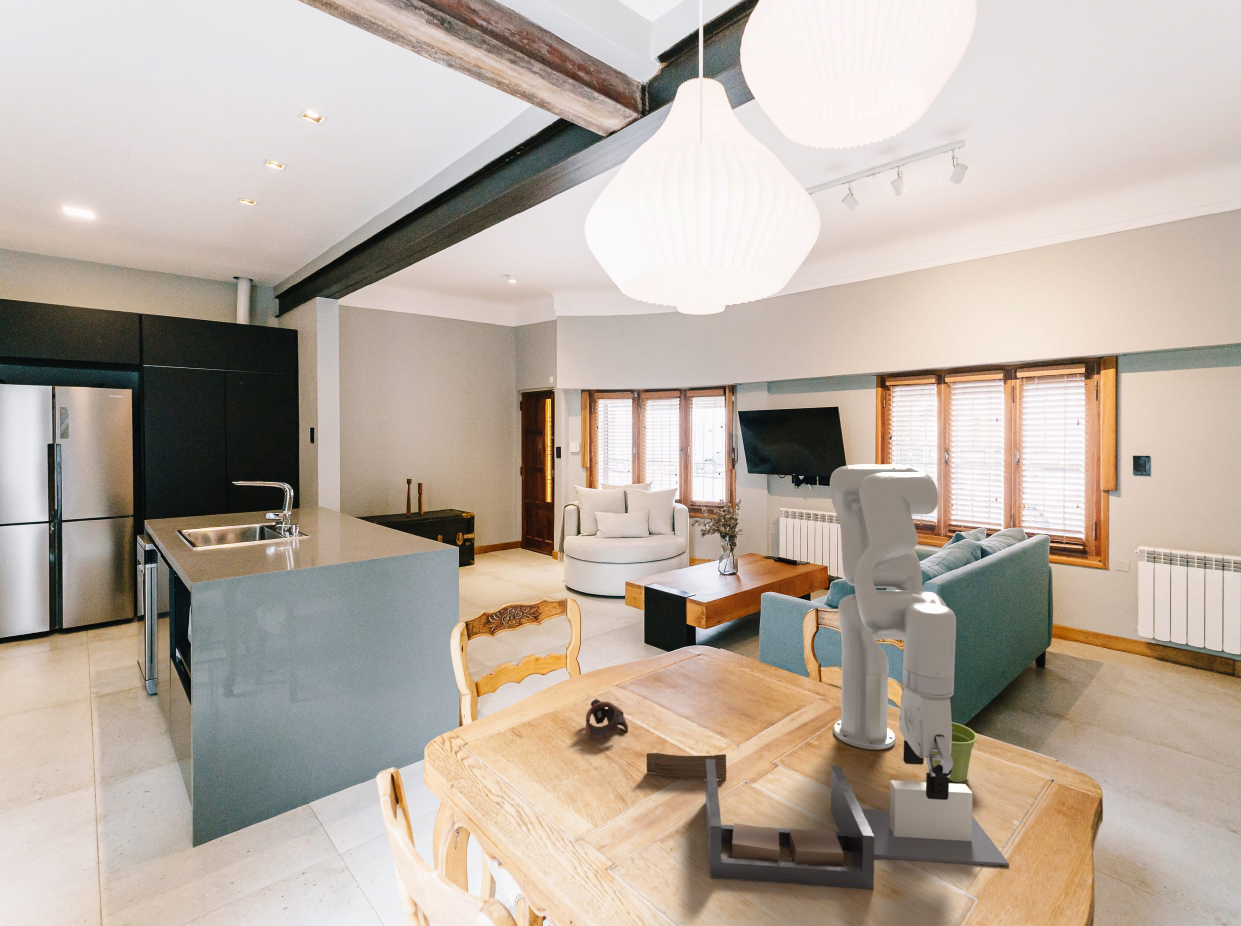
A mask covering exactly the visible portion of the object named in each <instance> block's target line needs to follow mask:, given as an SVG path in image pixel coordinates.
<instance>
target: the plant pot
mask: <svg viewBox="0 0 1241 926" xmlns="http://www.w3.org/2000/svg"><path fill="white" fill-rule="evenodd" d="M951 722H952V745H951V757H952V760H953V766H952V768H951V771H952V772H951V774H950V778H949V781H952V782H953V783H962V782H965V781H966V780H967V779H968V773H969V767H970V762H971V756H972V752H973V751H972V749H973V748H974V745H975V742H977V739H978V735H977V733H976V732H975V731H974V730H972V729H971V728H970V727H967V726H965V725H963V724H960V723H956V722H953V721H951ZM931 754H939V753H938V751H932V752H931ZM933 764H934V767H935V766H937V765H940V760H936V759H933Z"/></svg>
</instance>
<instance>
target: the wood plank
mask: <svg viewBox="0 0 1241 926" xmlns="http://www.w3.org/2000/svg"><path fill="white" fill-rule="evenodd" d="M706 759H715V768H716V777H717V779H721V780H720V781H727V754H723V753H722V754H714V755H675V754H667V753H666V754H665V753H660V752H652V753H650V752H648V753H646V773H647V774H648V773H649V774H656V775H660V776H663V777H666V776H667V778H673V779H674V778H675V779H682V778H684V779H683V780H688V779H696V780H699V779H706Z"/></svg>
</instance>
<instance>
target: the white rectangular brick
mask: <svg viewBox="0 0 1241 926" xmlns="http://www.w3.org/2000/svg"><path fill="white" fill-rule="evenodd" d="M889 810H890V822H889V827H890V829H891V831H892V832H893V834H894V836H896V837H912V838H928V839H944V840H960V841H972V816H973V792H972V790H971V789H970V788H969V787H968V786H967V785H966V784H964V783H950V782H949V793H948V799H947V800H938V799H928V798H927V796H926V781H912V780H910V781H909V780H896V779H895V780H892V779H891V780H889Z"/></svg>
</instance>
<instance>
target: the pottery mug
mask: <svg viewBox="0 0 1241 926" xmlns="http://www.w3.org/2000/svg"><path fill="white" fill-rule="evenodd" d="M614 704H615V703H614ZM614 704H613V703H612V702H609V701H601V700H599V699H597V698H595V699H593V700H592V701H591V702H590V708H589V709H588V711H587V713H586V716H585V735H586V738H587V740H588V741H590V740H591V739H598V740H600V739H603V740H604V739H606V737H607V738H608V737H610V736H612V735H613V734H615V733H617V734H618V733H620V732H621V731H620V728H619V726H621V727H622V728H623V729H624V730H625V732H626V733H629V725H628V722H627V721H626V717H624V715H625V713H624V711H623V710H622V709H621V708H620V707H619V706H617V705H614ZM591 716H593V718H594V721H595V724H596V725H597V726H596V725H594V724H592V723H591ZM605 720H606V722H607V723H606V724H604V725H603V726H598V725H599V724H603V723H604V721H605Z"/></svg>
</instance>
